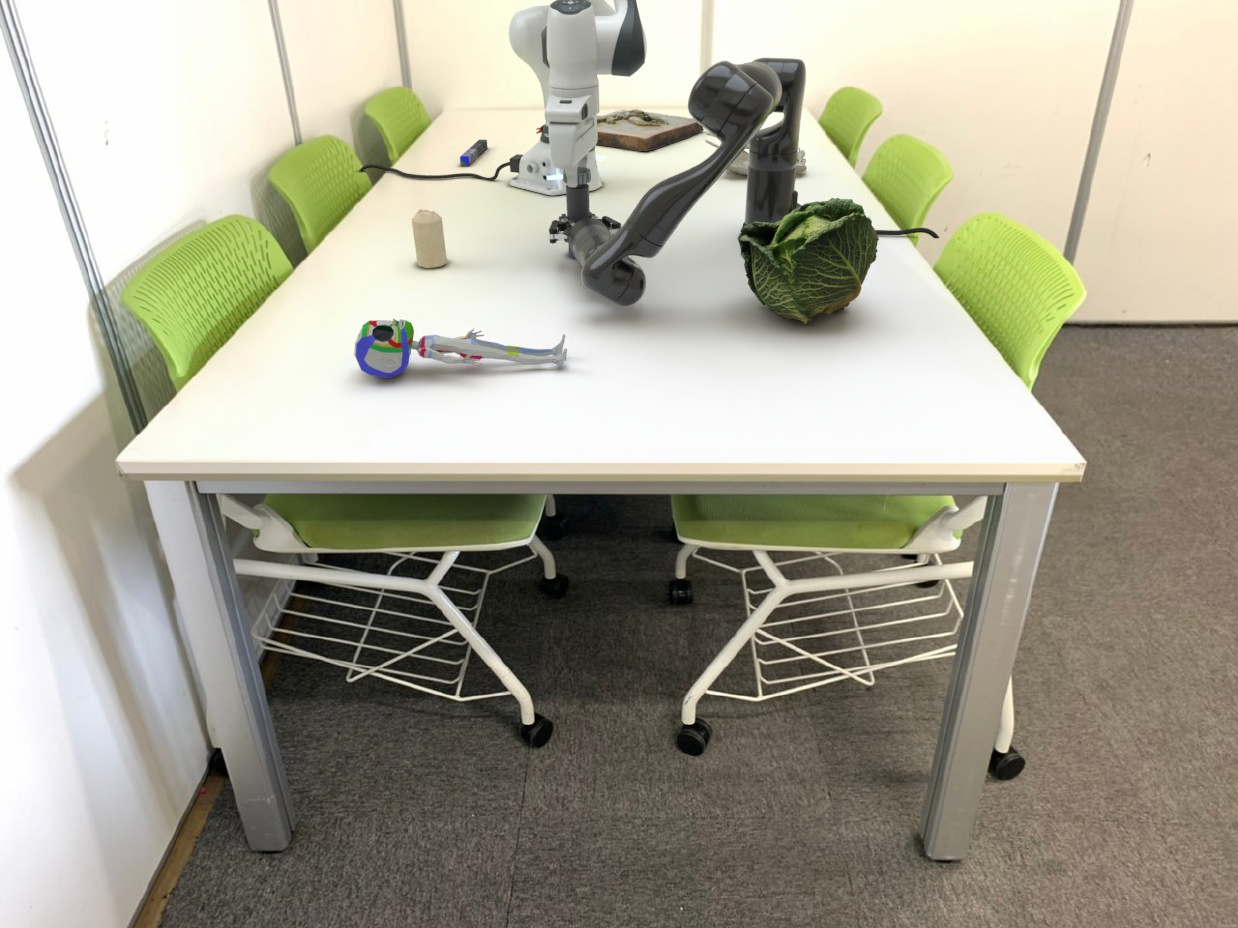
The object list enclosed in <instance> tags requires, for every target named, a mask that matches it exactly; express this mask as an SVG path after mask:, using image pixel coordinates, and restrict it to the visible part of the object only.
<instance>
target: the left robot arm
mask: <svg viewBox="0 0 1238 928" xmlns="http://www.w3.org/2000/svg"><path fill="white" fill-rule="evenodd" d="M613 4H614V8H613V7H612V6H611V5H610V4H609V3H608V2H607V1H606V0H554V1H553V2H551V3H550V4H548V5H535V6H532V7H529V8H524V9H522V10H519V11H516V12H515V13H514V15H513V16H512V18H511V20H510V22H509V26H508V40H509V44H510V46H511V49H512V51H513V52H514V54H515V55H516V56H517V57H518V58H519V59H520V60H521V61H523V62H525V64H526V65H528V66H529V67H530V69H531V70H532V72H534V74H535V76H536V78H537V80H538V82H539V85H540V88H541V91H542V99H543V107H544V120H545V121H544V122H545V123H544V124H543V125H541V126H540V127H537V128H535V130H536V132H535V133H536V134H540V138H539V141H538V142H536V143H535V144H534V145H533V146H532V147H530V149H529V150H527V151H526V152H525V153H524V154H520V153H519V154H518V153H517V154H514V155H513V156H511V157H510V158H509V161H508V162H507V161H506V162H504V163H502V164H500V165H499V166H498V167H497V168H496V169H495V173H494V175H493V176H491V177H486V176H482V175H480V174H476V173H471V172H462V173H461V172H459V173H451V174H435V175H434V174H433V175H431V174H429V175H428V174H415V173H408V172H404V171H401V169H397V168H393V167H389V166H388V167H387V166H383V165H380V164H374V163H369V164H365V165H363V166H361V168H360V169H359V170H358V172H359V173H360V172H361V173H362V172H364V171H365V170H367V169H371V168H372V169H379V170H383V171H386V172H391V173H392V172H393V173H396V174H398V175H400V176H402V177H406V178H413V179H422V180H443V179H452V178H453V179H454V178H475V179H479V180H483V181H489V182H492V181H493V182H494V181H495V180H497V178H498V177H499V174H500V172H501V170H502V169H504V168H507V167H509V171H510V173H516V175H514V176H513V177H512V178H511V179H510V180H509V186H511V187H514V188H517V189H518V188H519V189H523V190H527V191H531V192H535V193H539V194H543V195H545V196H559V195H566V185H568V187H577V185H578V184H579V176H577V167H585V168H589V169H590V172H591V181H590V182H589V183H586V184H588V185H589V192H592V191H595V190H598V189H600V188H601V187H602V186H603V183H602V180H601V178H600V177H601V176H600V173H599V168H598V163H597V161H605V156H602V155H596V145H598V144H597V140H598V130H597V116H598V114H599V113H600V111H601V110H600V83H599V82H600V81H599V77H598V75H599V76H600V75H606V76H607V75H611V76H615V77H616V76H617V77H628V78H629V77H631V76H633V75H634V74H636V72H637V71H639V70H640V69H641V68H642V67H643V66H644V64H645V63H646V57H647V52H648V44H647V43H648V42H647V37H646V32H645V29H644V26H643V24H642V19H641V17H640V12H639V8H638V3H637V0H613ZM563 170H565V173H566V176H567V184H566V183H564V181H563ZM517 173H518V174H517Z"/></svg>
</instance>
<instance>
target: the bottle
mask: <svg viewBox="0 0 1238 928" xmlns="http://www.w3.org/2000/svg"><path fill="white" fill-rule="evenodd" d="M565 197H566V199H565V201H566V216H567V217H568V220H571V219H573V220H575V221H576V222H578V221H580V220H582V219H585V218H590V212H591V209H590V191H589V185H588V184H580V185H577V187H568V185H566V194H565ZM567 244H568V246H567V247H568V257H569V258H571V259H575V260H577V259H576V258H575V256H574V254H573V252H572V250H571V248H570V246H569V243H567Z"/></svg>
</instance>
